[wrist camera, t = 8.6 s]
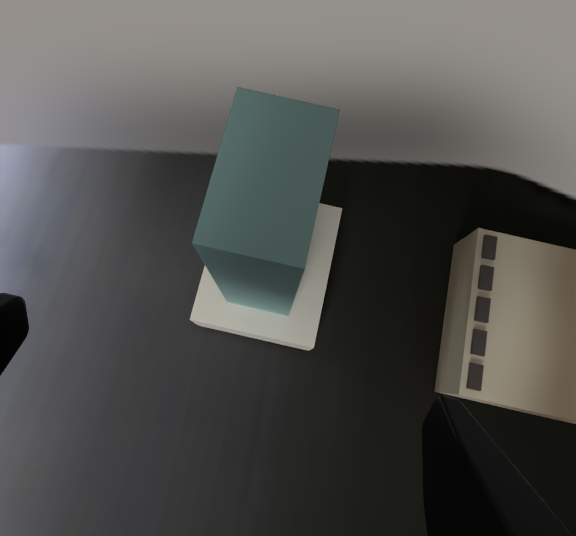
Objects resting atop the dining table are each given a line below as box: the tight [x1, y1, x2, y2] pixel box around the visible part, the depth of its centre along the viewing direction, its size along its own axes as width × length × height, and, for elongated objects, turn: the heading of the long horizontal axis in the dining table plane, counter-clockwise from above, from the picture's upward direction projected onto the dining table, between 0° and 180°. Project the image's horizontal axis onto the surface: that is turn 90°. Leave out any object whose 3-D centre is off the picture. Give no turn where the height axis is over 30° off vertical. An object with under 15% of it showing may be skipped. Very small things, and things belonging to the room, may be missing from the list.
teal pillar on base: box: [190, 87, 342, 351], centre depth 15 cm, size 5×6×10 cm
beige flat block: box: [434, 228, 576, 424], centre depth 18 cm, size 10×7×3 cm
